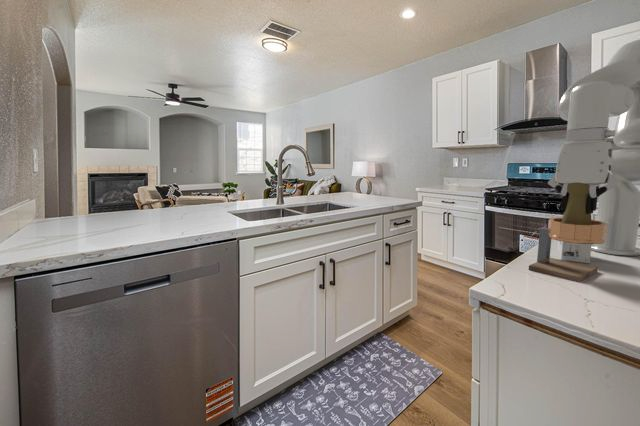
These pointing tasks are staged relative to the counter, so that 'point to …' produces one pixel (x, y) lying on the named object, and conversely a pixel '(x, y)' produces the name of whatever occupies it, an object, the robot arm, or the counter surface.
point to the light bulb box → (574, 252)
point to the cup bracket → (572, 235)
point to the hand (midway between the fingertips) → (577, 211)
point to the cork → (577, 205)
